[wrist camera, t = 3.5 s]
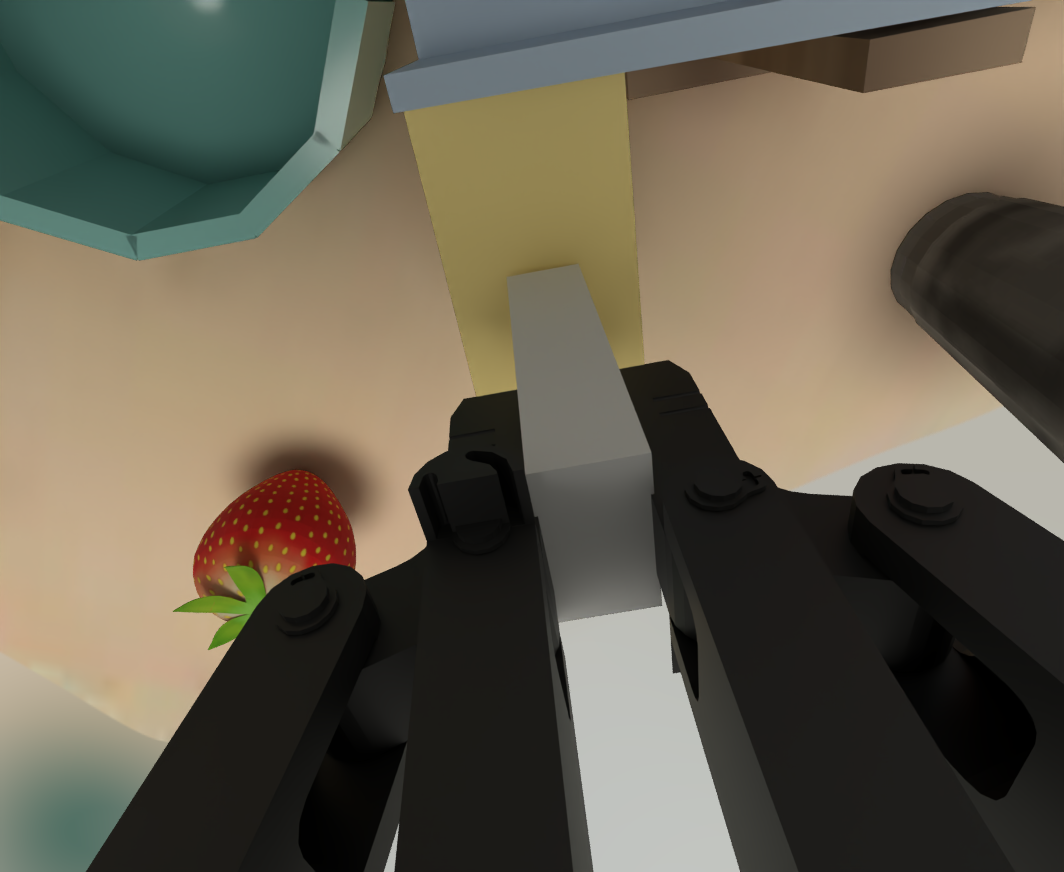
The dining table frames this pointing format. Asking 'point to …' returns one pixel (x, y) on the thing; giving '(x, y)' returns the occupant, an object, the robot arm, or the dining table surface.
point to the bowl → (177, 113)
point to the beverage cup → (994, 299)
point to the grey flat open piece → (566, 136)
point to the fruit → (267, 546)
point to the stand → (863, 55)
